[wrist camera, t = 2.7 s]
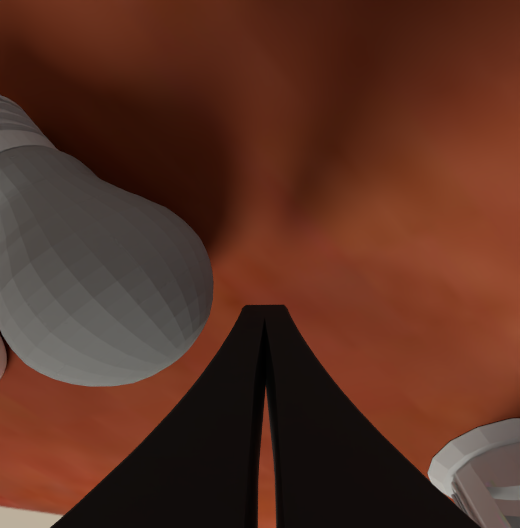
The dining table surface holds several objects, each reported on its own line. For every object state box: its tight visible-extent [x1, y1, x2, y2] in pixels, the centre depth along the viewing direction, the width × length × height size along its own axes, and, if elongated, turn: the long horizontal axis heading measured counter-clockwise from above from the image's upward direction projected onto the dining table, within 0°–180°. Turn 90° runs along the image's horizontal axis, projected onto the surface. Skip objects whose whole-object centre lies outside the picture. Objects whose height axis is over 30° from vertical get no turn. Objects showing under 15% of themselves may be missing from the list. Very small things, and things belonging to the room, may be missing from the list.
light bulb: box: [0, 95, 213, 386], centre depth 8 cm, size 6×6×10 cm
